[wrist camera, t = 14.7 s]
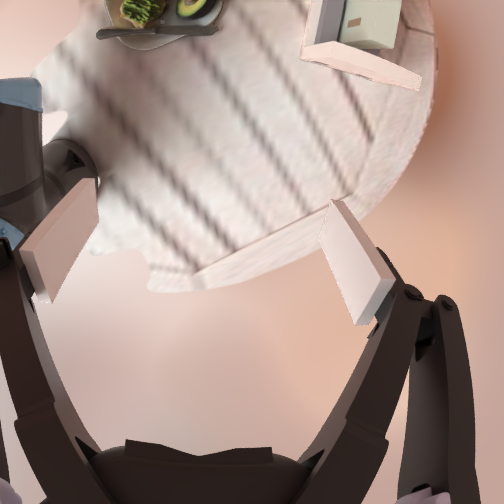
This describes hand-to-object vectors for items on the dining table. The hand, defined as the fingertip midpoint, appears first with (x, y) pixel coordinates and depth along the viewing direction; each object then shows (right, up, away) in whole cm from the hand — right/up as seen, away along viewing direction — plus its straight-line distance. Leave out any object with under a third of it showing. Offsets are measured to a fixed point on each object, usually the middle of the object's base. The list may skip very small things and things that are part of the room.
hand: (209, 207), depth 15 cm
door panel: (+17, +34, +13) cm, 40 cm away
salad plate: (-10, +35, +12) cm, 38 cm away
